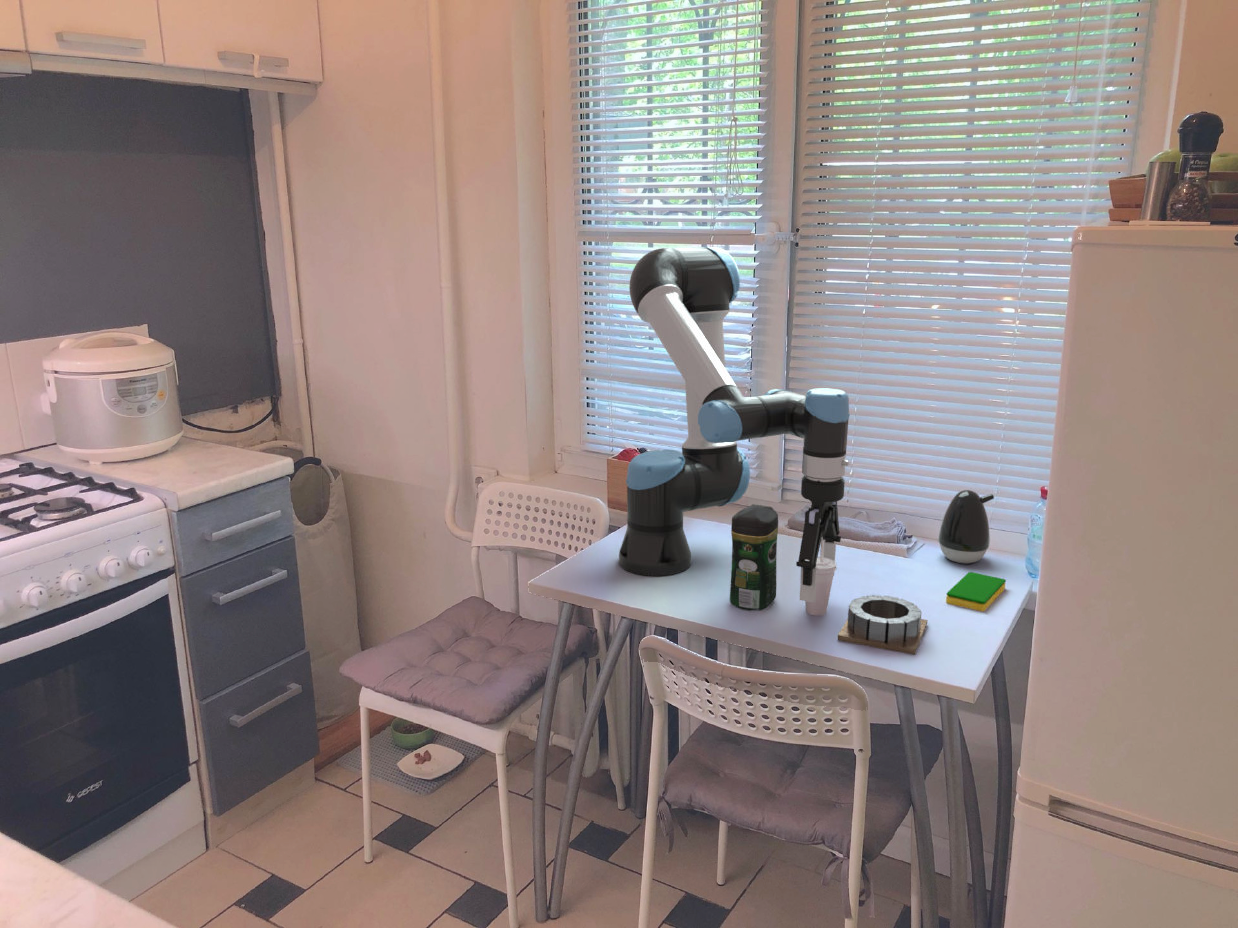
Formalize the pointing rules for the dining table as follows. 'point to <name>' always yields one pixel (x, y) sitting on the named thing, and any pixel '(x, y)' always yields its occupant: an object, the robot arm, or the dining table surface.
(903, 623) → the stone fire pit ring
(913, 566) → the dining table surface
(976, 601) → the dish sponge
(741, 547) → the coffee jar
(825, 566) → the smoothie
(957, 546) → the pump dispenser
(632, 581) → the dining table surface
